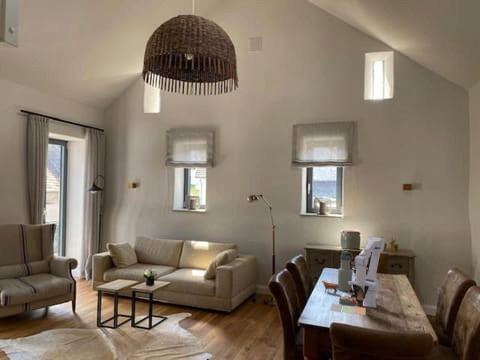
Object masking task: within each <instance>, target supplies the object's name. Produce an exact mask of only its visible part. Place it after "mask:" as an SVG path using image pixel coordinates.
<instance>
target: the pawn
mask: <svg viewBox="0 0 480 360" xmlns="http://www.w3.org/2000/svg"><path fill="white" fill-rule="evenodd" d="M356 301H362V302H363V301H364V291H363V289H362V288H360V289H357V298H356Z"/></svg>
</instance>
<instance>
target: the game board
mask: <svg viewBox="0 0 480 360" xmlns="http://www.w3.org/2000/svg"><path fill="white" fill-rule="evenodd" d="M329 311H332V312H341V313H346V314H354V315H361V316H366V313H367V312H366V311H367V310H366V307H360V306H359V307H358V306H353V305H345V304H338V303H337V304H336V303H332V304H331V307H330V309H329Z"/></svg>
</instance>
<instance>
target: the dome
mask: <svg viewBox="0 0 480 360" xmlns="http://www.w3.org/2000/svg"><path fill="white" fill-rule="evenodd" d="M341 296H342V297H341V299H348V300H349V297H350V296H349V295H348V294H347V293H343V294H341Z"/></svg>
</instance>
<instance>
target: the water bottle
mask: <svg viewBox="0 0 480 360" xmlns="http://www.w3.org/2000/svg"><path fill="white" fill-rule="evenodd" d="M340 254H341V255H340V267H339V268H338V271H337V272H338V273H337V274H338V276H337V285H338V287H339V288H337V289H338V291H341V292H346V291H348V292H351V291H352V290H353V285H348V281H353V270H352V269H354V265H355V261H353V259H354V255H353V253H352V252H350V251H347V250H344V251H343V250H342V251H341V253H340ZM351 263H352V264H351ZM353 264H354V265H353ZM351 265H352V266H351ZM351 289H352V290H351ZM350 290H351V291H350Z"/></svg>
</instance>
